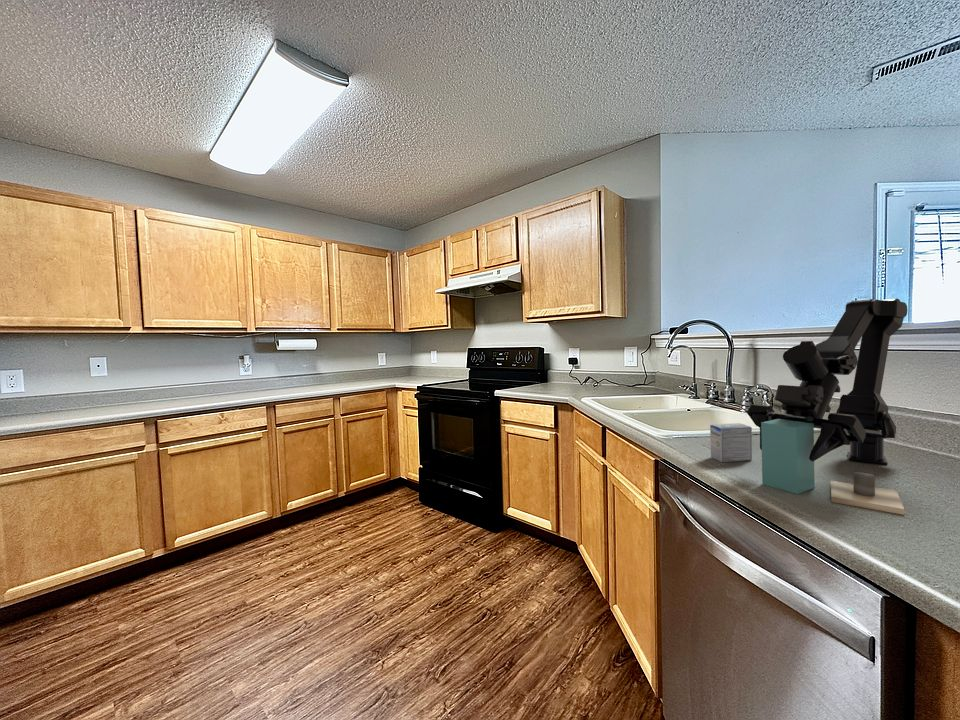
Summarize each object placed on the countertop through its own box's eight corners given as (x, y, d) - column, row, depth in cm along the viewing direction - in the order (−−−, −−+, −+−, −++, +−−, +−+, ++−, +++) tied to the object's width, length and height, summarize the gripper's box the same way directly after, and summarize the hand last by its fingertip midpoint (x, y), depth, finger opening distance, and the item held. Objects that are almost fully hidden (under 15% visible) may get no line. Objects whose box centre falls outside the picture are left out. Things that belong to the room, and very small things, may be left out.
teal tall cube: (779, 478, 82) (778, 418, 82) (814, 487, 76) (813, 423, 76) (762, 484, 79) (761, 422, 79) (797, 494, 74) (796, 427, 73)
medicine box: (740, 455, 99) (739, 422, 98) (752, 461, 94) (752, 426, 94) (710, 457, 98) (709, 424, 98) (721, 462, 94) (720, 428, 94)
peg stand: (830, 485, 77) (830, 463, 77) (896, 495, 71) (896, 471, 71) (831, 501, 70) (831, 477, 70) (904, 514, 64) (904, 488, 64)
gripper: (750, 368, 87) (720, 422, 83) (857, 372, 70) (827, 440, 66) (771, 399, 91) (743, 452, 87) (878, 410, 74) (850, 476, 70)
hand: (785, 454), depth 77 cm, fingers open, 8 cm apart
